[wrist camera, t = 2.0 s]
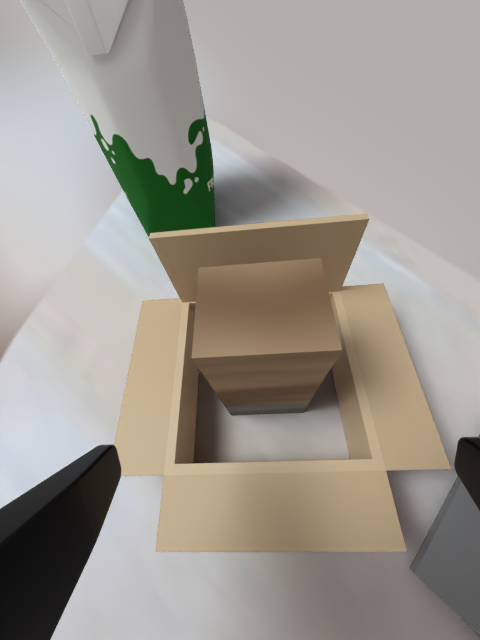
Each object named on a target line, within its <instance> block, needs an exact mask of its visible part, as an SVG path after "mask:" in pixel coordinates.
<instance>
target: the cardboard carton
mask: <svg viewBox="0 0 480 640" xmlns="http://www.w3.org/2000/svg"><path fill="white" fill-rule="evenodd" d="M368 221H369V217H368V214H367V213H366V214H355V215H344V216H333V217H322V218H311V219H300V220H289V221H278V222H267V223H256V224H245V225H234V226H223V227H212V228H201V229H190V230H179V231H168V232H156V233H150V236H149V240H150V241H151V243H152V245H153V247H154V249H155V251H156V253H157V255H158V257H159V259H160V261H161V263H162V265H163V266H164V268H165V270H166V272H167V274H168V276H169V278H170V280H171V282H172V284H173V286H174V288H175V290H176V291H177V293H178V295H179V297H180V298H175V299H161V300H147V301H142V306H141V311H140V316H139V321H138V326H137V331H136V336H135V341H134V346H133V351H132V356H131V361H130V366H129V371H128V377H127V382H126V387H125V392H124V397H123V402H122V407H121V412H120V417H119V422H118V427H117V432H116V437H115V442H114V446H115V447H116V448H117V452H118V456H119V460H120V464H121V476H157V475H164V478H163V487H162V497H161V506H160V515H159V525H158V534H157V543H156V552H407V550H406V546H405V542H404V538H403V535H402V531H401V527H400V523H399V519H398V515H397V511H396V507H395V504H394V500H393V496H392V492H391V488H390V484H389V480H388V476H387V472H386V471H388V470H434V469H451V466H450V464H449V461H448V458H447V455H446V453H445V450H444V447H443V444H442V442H441V439H440V436H439V433H438V431H437V428H436V425H435V423H434V420H433V417H432V414H431V412H430V409H429V406H428V403H427V401H426V398H425V395H424V392H423V390H422V387H421V384H420V382H419V379H418V376H417V373H416V371H415V368H414V365H413V362H412V360H411V357H410V354H409V352H408V349H407V346H406V343H405V341H404V338H403V335H402V332H401V330H400V327H399V324H398V321H397V319H396V316H395V313H394V311H393V308H392V305H391V302H390V300H389V297H388V294H387V291H386V289H385V286H384V284H371V285H357V286H343V287H342V285H343V283H344V280H345V278H346V275H347V273H348V270H349V268H350V265H351V263H352V260H353V258H354V256H355V253H356V251H357V248H358V246H359V243H360V241H361V238H362V236H363V233H364V231H365V228H366V226H367V223H368ZM314 258H321V260H322V265H323V269H324V273H325V278H326V282H327V286H328V290H329V295H330V299H331V303H332V308H333V312H334V316H335V321H336V325H337V329H338V334H339V338H340V342H341V347H342V351H341V353H340V355H339V356H338V358H337V359H336V361H335V363H334V364H333V366H332V372H333V377H334V382H335V387H336V392H337V397H338V402H339V407H340V412H341V417H342V422H343V427H344V432H345V437H346V442H347V447H348V452H349V456H350V460H314V461H274V462H234V463H194V447H195V430H196V413H197V397H198V380H199V368H198V367H197V365H196V364H195V362H194V361H193V360H192V346H193V333H194V320H195V307H196V294H197V281H198V268H201V267H213V266H226V265H239V264H251V263H264V262H276V261H289V260H302V259H314Z"/></svg>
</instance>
